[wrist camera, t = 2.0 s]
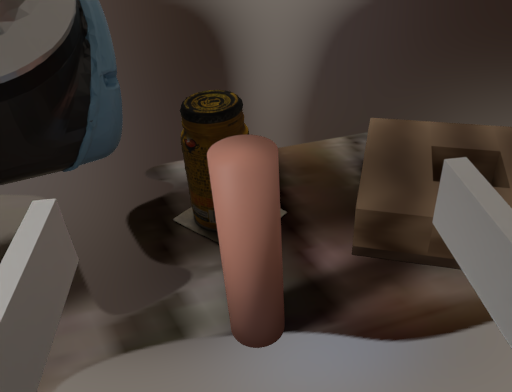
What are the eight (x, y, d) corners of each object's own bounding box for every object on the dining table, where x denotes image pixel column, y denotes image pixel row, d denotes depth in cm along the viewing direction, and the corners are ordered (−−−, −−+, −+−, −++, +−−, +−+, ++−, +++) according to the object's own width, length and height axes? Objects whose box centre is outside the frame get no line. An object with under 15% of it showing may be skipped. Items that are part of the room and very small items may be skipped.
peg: (224, 342, 34) (196, 167, 26) (239, 300, 38) (220, 132, 29) (277, 352, 33) (268, 174, 25) (289, 309, 37) (284, 137, 28)
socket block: (351, 254, 41) (355, 208, 38) (366, 158, 53) (370, 117, 50) (589, 286, 37) (614, 237, 34) (545, 173, 49) (560, 130, 46)
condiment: (222, 185, 51) (209, 78, 44) (287, 213, 46) (284, 99, 39) (172, 221, 46) (149, 108, 39) (239, 255, 42) (226, 135, 35)
